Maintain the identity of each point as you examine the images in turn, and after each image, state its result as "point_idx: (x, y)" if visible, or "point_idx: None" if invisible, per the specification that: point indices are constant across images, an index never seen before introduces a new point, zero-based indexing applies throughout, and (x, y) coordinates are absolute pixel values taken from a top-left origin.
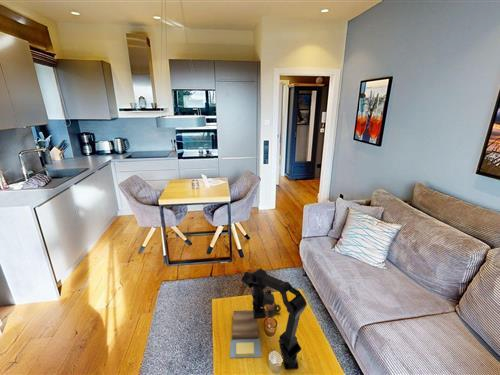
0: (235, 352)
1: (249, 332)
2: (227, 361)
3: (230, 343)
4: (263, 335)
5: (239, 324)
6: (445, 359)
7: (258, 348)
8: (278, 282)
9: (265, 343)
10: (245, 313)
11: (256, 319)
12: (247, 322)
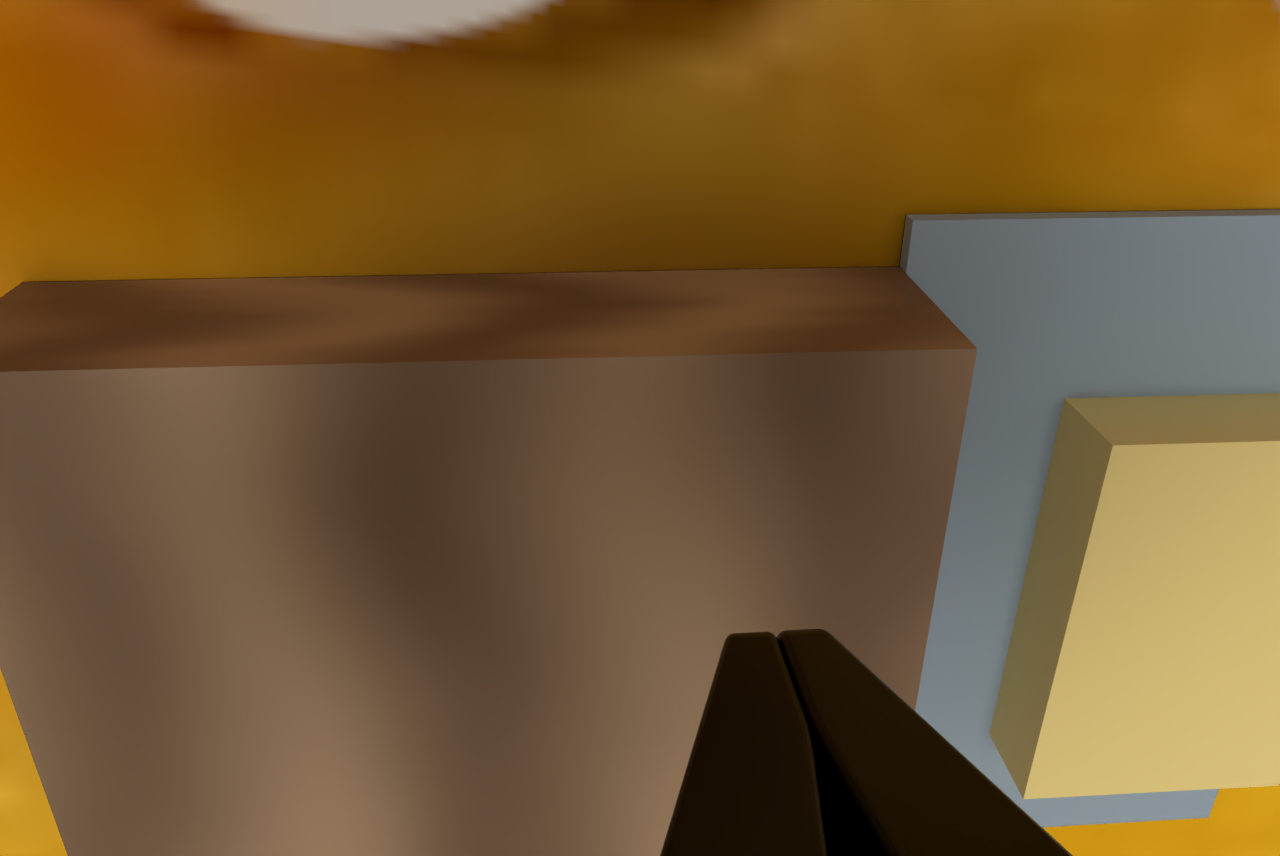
0: None
1: (880, 600)
2: (1242, 826)
3: None
4: (789, 109)
5: (586, 836)
6: None
7: (1189, 283)
8: None
9: (1061, 66)
10: (156, 726)
11: (372, 398)
12: (515, 661)
